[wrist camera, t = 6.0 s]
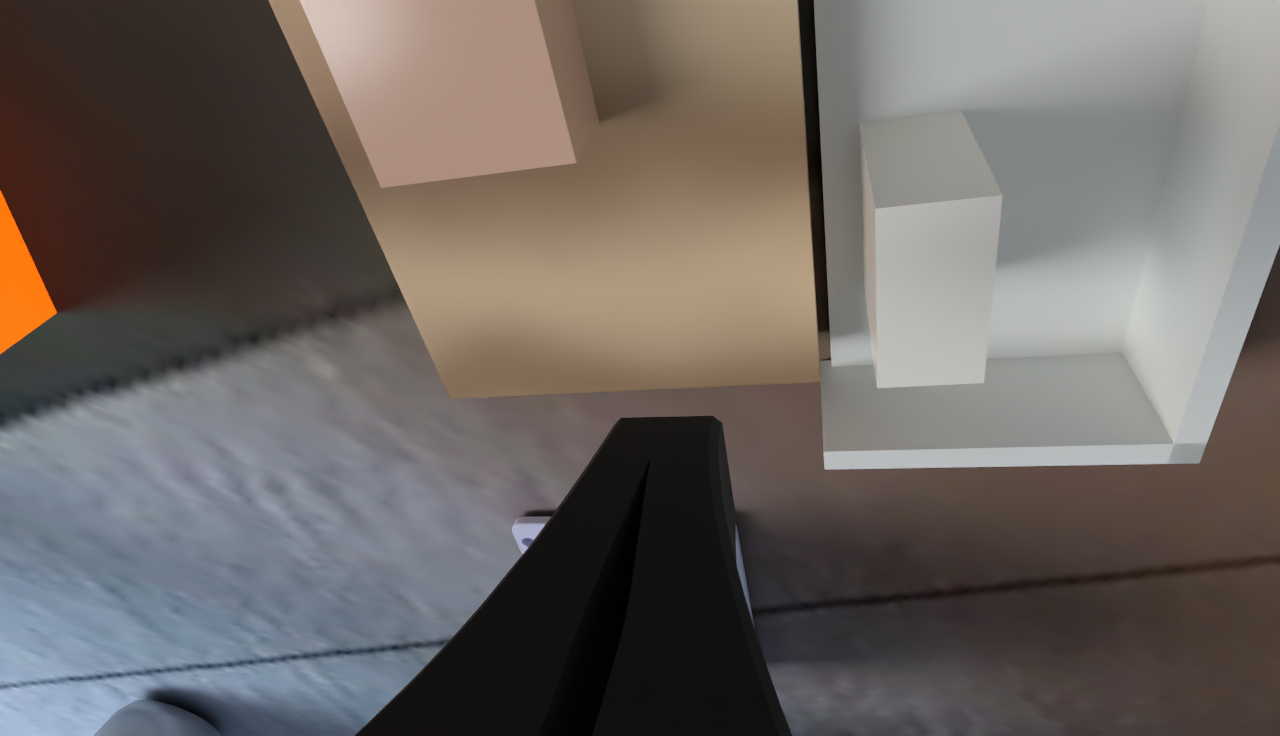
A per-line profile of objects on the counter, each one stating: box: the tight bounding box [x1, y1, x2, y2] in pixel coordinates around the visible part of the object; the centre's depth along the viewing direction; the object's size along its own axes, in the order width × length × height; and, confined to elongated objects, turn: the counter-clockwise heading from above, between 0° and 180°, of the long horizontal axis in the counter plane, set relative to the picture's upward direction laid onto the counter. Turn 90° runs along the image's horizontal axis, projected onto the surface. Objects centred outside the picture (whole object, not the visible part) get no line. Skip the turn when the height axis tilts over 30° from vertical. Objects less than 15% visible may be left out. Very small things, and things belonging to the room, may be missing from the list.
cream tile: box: [859, 110, 1003, 388], centre depth 15 cm, size 4×4×2 cm
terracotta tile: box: [300, 0, 599, 188], centre depth 13 cm, size 4×4×2 cm
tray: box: [814, 0, 1280, 469], centre depth 14 cm, size 15×8×4 cm, turn 11°
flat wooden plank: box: [268, 0, 820, 399], centre depth 16 cm, size 12×10×2 cm
